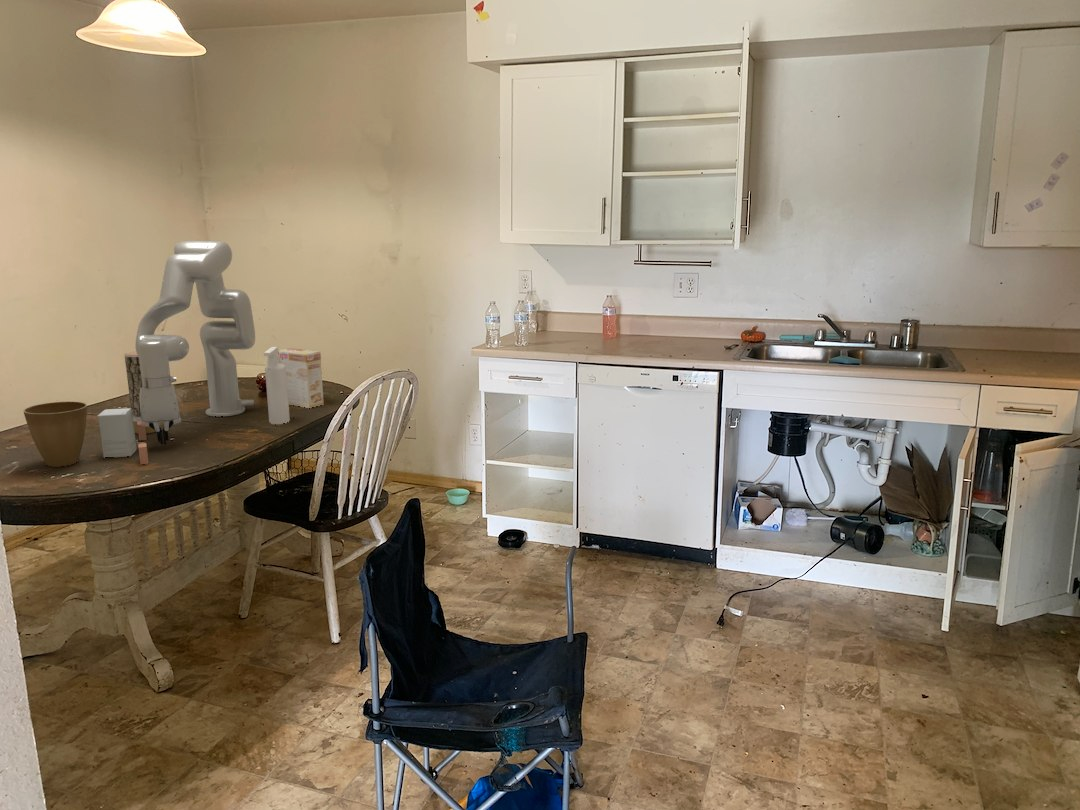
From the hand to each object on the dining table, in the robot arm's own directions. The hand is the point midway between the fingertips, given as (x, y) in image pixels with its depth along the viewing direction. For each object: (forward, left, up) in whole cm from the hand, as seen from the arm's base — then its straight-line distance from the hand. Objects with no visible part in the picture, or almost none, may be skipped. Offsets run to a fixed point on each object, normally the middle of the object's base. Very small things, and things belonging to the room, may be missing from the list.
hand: (163, 443), depth 236 cm
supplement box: (+12, +1, -2) cm, 12 cm away
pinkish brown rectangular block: (+5, 0, -1) cm, 6 cm away
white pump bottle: (-36, -16, -2) cm, 39 cm away
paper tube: (+4, -21, -2) cm, 21 cm away
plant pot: (+25, +4, -2) cm, 26 cm away
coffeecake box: (-47, -37, -2) cm, 59 cm away
